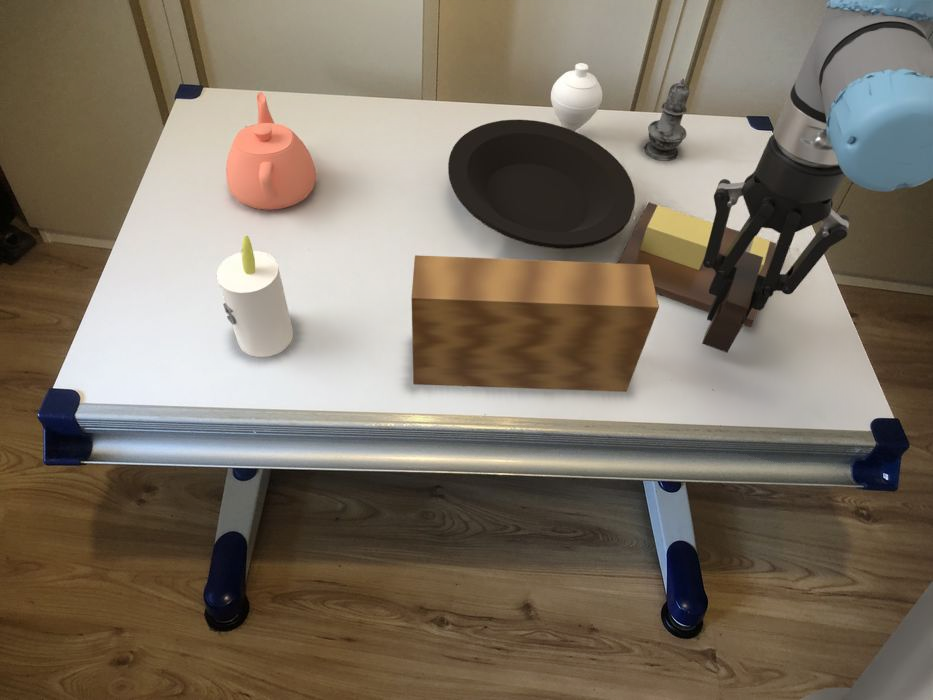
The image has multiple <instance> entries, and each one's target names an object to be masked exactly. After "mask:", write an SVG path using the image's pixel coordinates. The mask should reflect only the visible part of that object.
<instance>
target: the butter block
mask: <svg viewBox="0 0 933 700" xmlns="http://www.w3.org/2000/svg"><path fill="white" fill-rule="evenodd" d="M657 205H658V206H657V208H656V210H655V212H654V214H653V216H652V218H651V220H650V222H649V224H648V226H647V229H646V232H645V235H644V238H643V241H642V244H641V247H640V250H641V251H644V252H647V253H650V254H653V255H656V256H659V257H662V258H665V259H668V260H670V261H673V262H676V263H679V264H682V265H685V266H688V267H691V268H694V269H697V270H699V269H700V267H701V264H702V262H703V260H704V257H705V253H706V249H707V246H708V242H709V238H710V234H711V230H712V226H713V222H712V221H709V220H706V221H705V219H703V218H699V217H696V216H693V215H690V214H686V213H684V214H683V212H681V211H678V210H675V209H672V208H668V207H665V206H661V205H659V204H657ZM674 210H675V211H674ZM677 211H678V212H677ZM680 212H681V213H680ZM708 221H709V222H708ZM711 222H712V223H711Z"/></svg>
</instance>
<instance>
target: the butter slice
mask: <svg viewBox="0 0 933 700" xmlns="http://www.w3.org/2000/svg"><path fill="white" fill-rule="evenodd" d="M770 241H771V240H769V239H765V238H762V237H759V236H757V235H756V236H755V237H754V239H753V243H752V246H751V249H750V252H749V253H752V254H755V255H758V256H761V257H763V260H762V263H761V267H760V270H759V273H760V271H761V269H762V267H763V266H764V262H765V259H766V255H767V252H768V248H769V245H770ZM758 275H759V274H758Z"/></svg>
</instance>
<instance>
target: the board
mask: <svg viewBox="0 0 933 700" xmlns="http://www.w3.org/2000/svg"><path fill="white" fill-rule="evenodd" d="M658 205H659V204H656V203H653V202H647V205H646V206H645V208H644V210H643V212H642V214H641V215H640V218H639V220H638V222H637V225H636V226H635V228H634V230H633V232H632V234H631V236H630V238H629V240H628V242H627V244H626V246H625V248H624V250H623V252H622V254H621V256H620V258H619V260H618V262H617V263H620V264H645V265H649V266H650V270H651V275H652V279H653V283H654V287H655V292H656V295H659V296H663V297H665V298H668V299H671V300H674V301H676V302H680V303H682V304H685V305H687V306H690V307H692V308H696V309H699V310H702V311H705V312H707V313H709V312H710V309H711V306H712V304H713V301H714V299H715V297H716V296H715V295H712V294H709V288H710V285H711V282H712V280H713V278H714V276H715V274H716V272H715V270H714V269H713V268H707V267H705V266H704V265H703V262H702V264H701V267H700V269H699V270H697V269H694V268H691V267H688V266H685V265H682V264H679V263H676V262H673V261H670V260H668V259H665V258H662V257H659V256H656V255H653V254H650V253H647V252H644V251H641V250H640V247H641V244H642V241H643V238H644V235H645V232H646V229H647V226H648V224H649V222H650V220H651V218H652V216H653V214H654V212H655V210H656V208H657V206H658ZM673 210H674V211H677V212H680V213H683V212H682V211H678V210H675V209H673ZM683 214H685V213H683ZM704 220H705V219H704ZM705 221H708V222H711V223H713V222H712V221H709V220H705ZM739 232H740V230H736V229H733V228H730V227H727V226H726V228H725V232H724V236H723V239H722V243H721V247H720V250H719V253H721V254H722V255H724V254H725V253H726V252H727V250H728V249H729V247H730V246H731V244H732V243H733V241H734V239H735V238H736V236H737V235H738V233H739ZM769 241H770V245H769V248H768V252H767V255H766V259H765V262H764V266H763V267H762V269H761V271H760V273H759V275H761V276H764V277H766V273H767V270H768V268H769V265H770V262H771V259H772V256H773V253H774V250H775V247H776V244H777V242H774V241H771V240H769ZM703 261H704V260H703ZM734 267H735V266H734ZM723 301H724V300H723ZM722 305H723V302H722ZM757 313H758V310H756V309H753V308H752V309H751V311H750V313H749V315H748V316H747V318H746V320H745V322H744V324H743V326H747V327H749V328H750V327H751V328H752V325H753V324H754V322H755V319H756V317H757Z"/></svg>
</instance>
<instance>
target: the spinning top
mask: <svg viewBox="0 0 933 700" xmlns="http://www.w3.org/2000/svg"><path fill="white" fill-rule="evenodd" d="M589 68H590V67H589V65H588V64H586V63H585V62H584V63H583V62H579V63H576V64H575V66H574V69H573V70H568V71H566V72H564V73H563V74H562V75H560V77H558V78H557V80H556V81H555V82H554V84H553V85H552V88H551V91H550V102H551V105H552V109H553V110H554V114H555V116H556V118H557V120H558V121H559V123H560V126H561V127H564V128H567V129H570V130H572V131H575V132H577V131H578V130H579V129H580V128H582V127H583V126H584V125H585V124H586V123H588V121H590V120H591V118H592V117H594V115H595V114H596V113H597V111H598V110H599V109H600V106H601V105H602V101H603V90H602V86H601V85H600V83H599V81H598V79H597V77H596V76H595V75H594V74H593V73H590V72H588V71H589Z"/></svg>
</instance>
